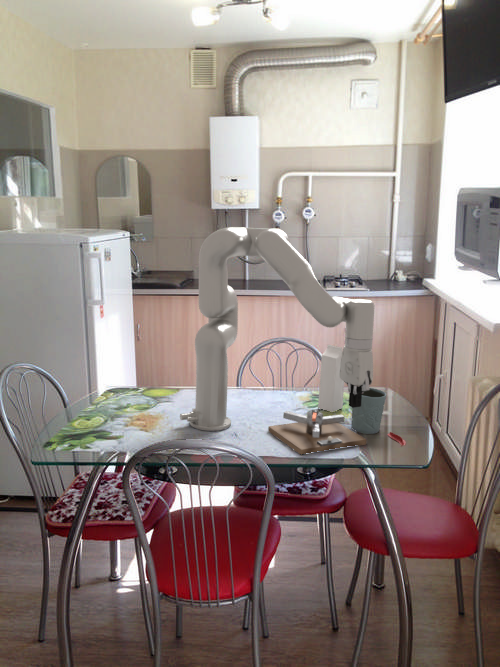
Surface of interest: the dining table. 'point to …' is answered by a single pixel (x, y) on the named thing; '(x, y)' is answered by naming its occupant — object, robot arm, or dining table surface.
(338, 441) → the level window
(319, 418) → the capstan
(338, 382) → the milk
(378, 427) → the grey-green cup
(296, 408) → the dining table surface
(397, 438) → the cayenne pepper
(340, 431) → the board
